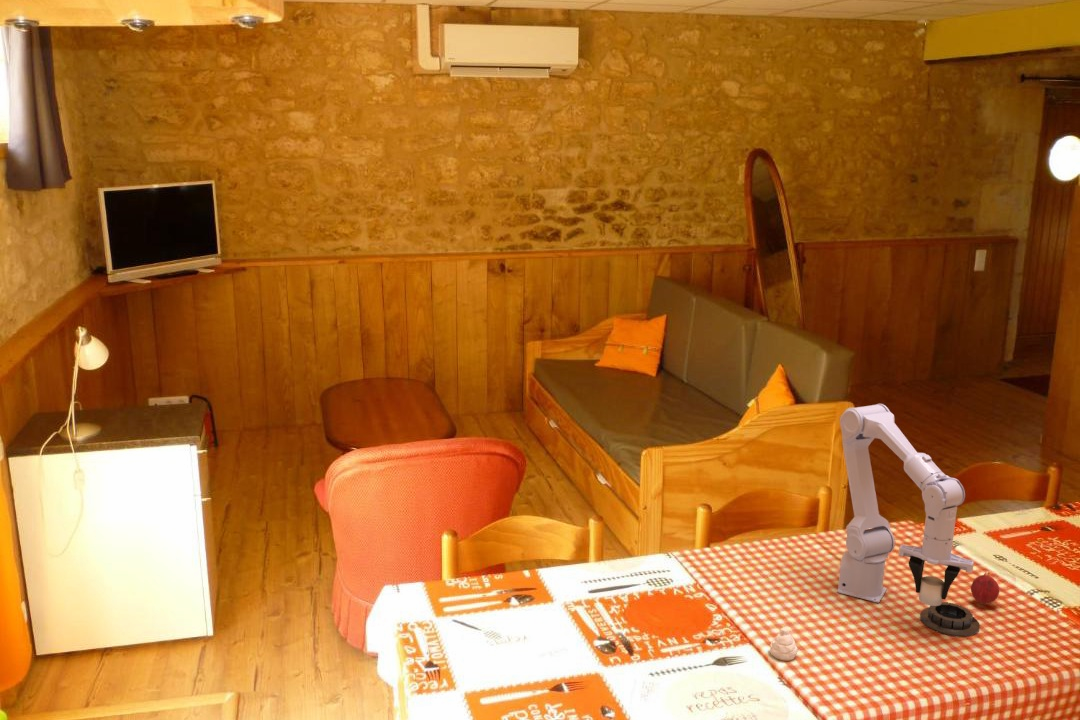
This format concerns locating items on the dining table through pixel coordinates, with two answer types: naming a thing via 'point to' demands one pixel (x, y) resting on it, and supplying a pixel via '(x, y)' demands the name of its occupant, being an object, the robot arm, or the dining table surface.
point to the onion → (985, 589)
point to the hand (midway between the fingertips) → (931, 594)
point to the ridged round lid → (950, 620)
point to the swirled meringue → (783, 646)
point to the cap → (931, 591)
